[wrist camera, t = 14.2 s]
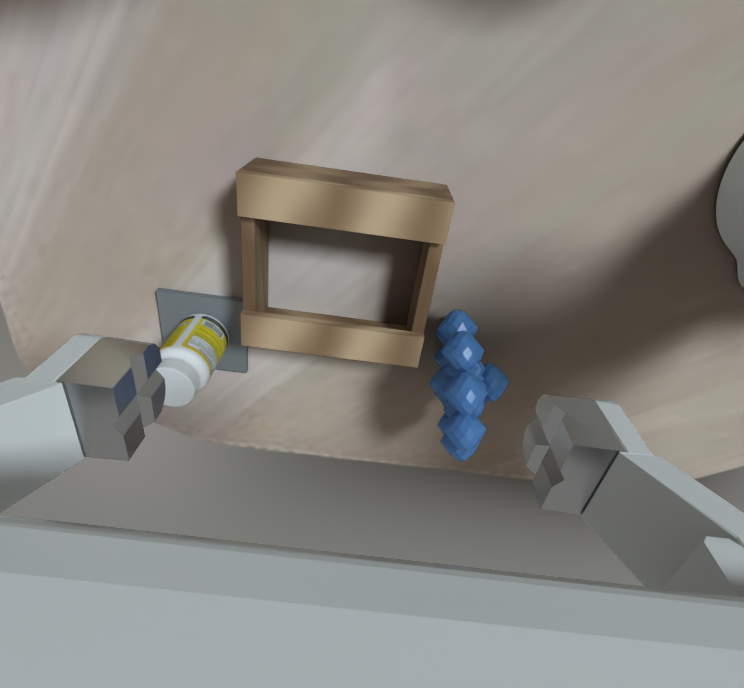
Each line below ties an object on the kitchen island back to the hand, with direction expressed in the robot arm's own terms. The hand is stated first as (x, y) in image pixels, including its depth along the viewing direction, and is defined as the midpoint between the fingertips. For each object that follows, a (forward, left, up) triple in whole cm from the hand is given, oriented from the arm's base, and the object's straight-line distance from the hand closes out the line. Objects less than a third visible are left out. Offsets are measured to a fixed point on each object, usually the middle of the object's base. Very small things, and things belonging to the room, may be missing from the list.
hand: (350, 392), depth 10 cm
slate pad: (+14, +18, -29) cm, 37 cm away
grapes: (-10, +16, -29) cm, 35 cm away
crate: (+2, +8, -29) cm, 30 cm away
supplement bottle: (+14, +18, -29) cm, 37 cm away
